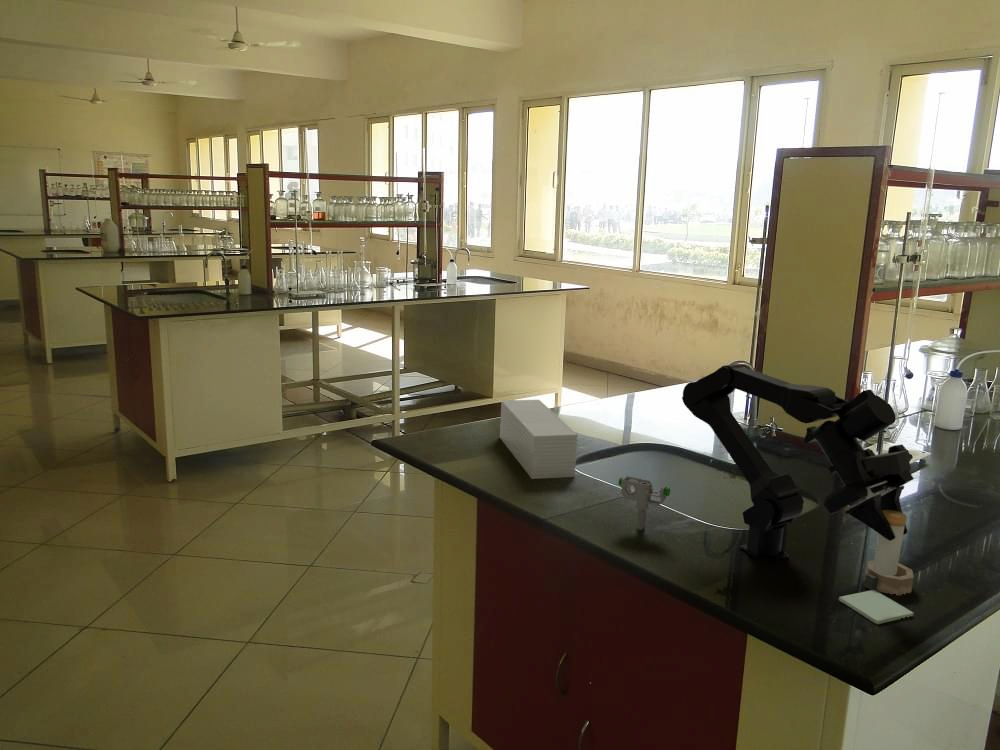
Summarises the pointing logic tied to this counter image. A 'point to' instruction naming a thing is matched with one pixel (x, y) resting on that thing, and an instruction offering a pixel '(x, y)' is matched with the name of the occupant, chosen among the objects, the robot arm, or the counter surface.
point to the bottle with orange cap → (890, 545)
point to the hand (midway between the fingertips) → (898, 536)
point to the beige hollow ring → (889, 580)
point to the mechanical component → (642, 495)
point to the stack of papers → (538, 439)
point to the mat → (875, 606)
